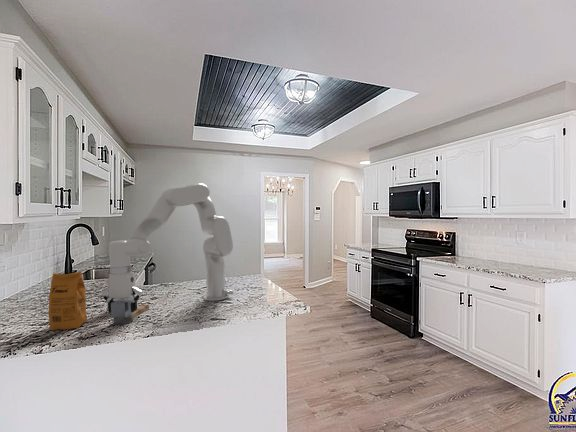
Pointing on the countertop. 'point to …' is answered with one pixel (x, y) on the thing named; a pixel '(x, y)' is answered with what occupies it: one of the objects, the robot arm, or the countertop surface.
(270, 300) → the countertop surface
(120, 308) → the blue gray cube
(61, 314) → the coffee package
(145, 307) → the wooden handled hammer
